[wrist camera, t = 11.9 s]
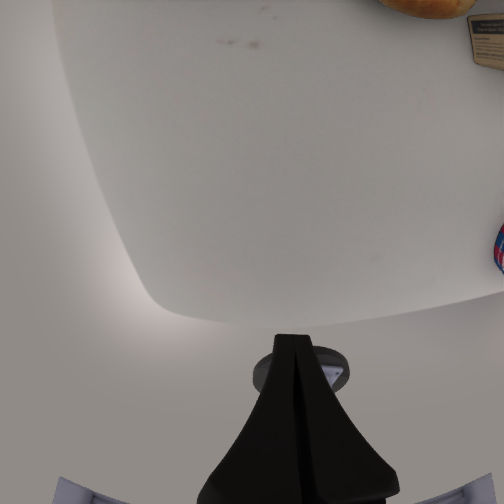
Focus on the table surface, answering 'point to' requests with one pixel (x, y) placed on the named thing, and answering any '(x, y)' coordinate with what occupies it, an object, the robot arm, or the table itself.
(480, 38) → the ink box
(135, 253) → the table surface
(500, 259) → the cup
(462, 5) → the onion
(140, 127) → the table surface
